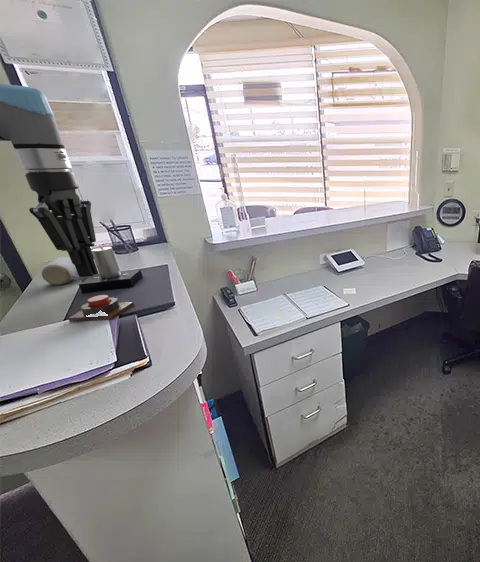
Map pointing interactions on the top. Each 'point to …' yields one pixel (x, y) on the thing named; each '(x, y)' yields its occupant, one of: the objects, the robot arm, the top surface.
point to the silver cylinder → (106, 262)
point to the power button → (98, 300)
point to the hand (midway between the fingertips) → (89, 275)
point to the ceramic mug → (61, 271)
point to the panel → (111, 281)
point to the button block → (111, 309)
